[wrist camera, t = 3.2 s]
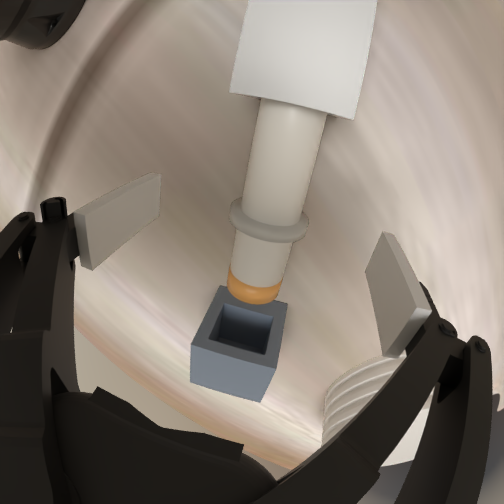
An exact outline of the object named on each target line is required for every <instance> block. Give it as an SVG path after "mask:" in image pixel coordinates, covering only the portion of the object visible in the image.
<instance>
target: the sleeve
mask: <svg viewBox="0 0 504 504" xmlns="http://www.w3.org/2000/svg"><path fill="white" fill-rule="evenodd" d="M376 5H377V0H249V2H248V6H247V10H246V14H245V18H244V23H243V27H242V31H241V36H240V40H239V45H238V49H237V54H236V59H235V64H234V69H233V74H232V79H231V84H230V89H229V92H230V93H235V94H240V95H244V96H249V97H253V98H257V99H261V98H267V99H272V100H277V101H282V102H286V103H291V104H295V105H300V106H304V107H308V108H312V109H316V110H320V111H323V112H327V114H328V115H331V116H335V117H338V118H344V119H350V120H354V116H355V112H356V108H357V104H358V99H359V95H360V91H361V86H362V82H363V77H364V72H365V68H366V63H367V58H368V53H369V47H370V42H371V36H372V31H373V25H374V18H375V12H376Z"/></svg>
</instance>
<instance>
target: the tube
mask: <svg viewBox="0 0 504 504" xmlns="http://www.w3.org/2000/svg"><path fill="white" fill-rule="evenodd" d="M326 117H327V112H323V111H320V110H316V109H312V108H308V107H304V106H300V105H295V104H291V103H286V102H282V101H277V100H272V99H267V98H261V102H260V107H259V112H258V117H257V122H256V127H255V132H254V137H253V142H252V148H251V153H250V158H249V163H248V169H247V174H246V179H245V185H244V190H243V196H242V198H239V199H236V200H235V201H233V202H232V204H231V208H230V214H229V220H230V222H231V224H232V225H233V226H234V227H235V228H236V229H237V230H236V235H235V241H234V247H233V253H232V259H231V263H230V267H229V274H228V280H227V288H228V290H229V292H230V293H231V294H232V295H233V296H234V297H235V298H237V299H239V300H240V301H243V302H245V303H249V304H256V305H260V304H266V303H269V302H271V301H273V300H274V299H275V298H276V297H277V295H278V292H279V289H280V286H281V282H282V279H283V274H284V271H285V268H286V264H287V261H288V258H289V254H290V251H291V248H292V244H293V242H296V241H298V240H301V239H302V238H303V237H304V236H305V234H306V230H307V227H308V224H309V220H308V218H307V216H306V215H305V214H304V213H303V212H302V209H303V206H304V202H305V198H306V195H307V191H308V187H309V184H310V180H311V176H312V172H313V169H314V165H315V161H316V157H317V153H318V149H319V145H320V141H321V137H322V133H323V129H324V125H325V121H326Z"/></svg>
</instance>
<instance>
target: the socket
mask: <svg viewBox="0 0 504 504" xmlns="http://www.w3.org/2000/svg"><path fill="white" fill-rule="evenodd" d="M286 310H287V304H286V303H282V302H279V301H275V300H273V301H271V302H269V303H266V304H260V305H256V304H249V303H245V302H243V301H240V300H239V299H237V298H235V297H234V296H233V295H232V294H231V293H230V292H229V290H228V288H227V287H224V286H221V285H220V287H219V289H218V291H217V293H216V295H215V297H214V299H213V301H212V303H211V305H210V307H209V309H208V311H207V313H206V315H205V317H204V319H203V321H202V323H201V325H200V327H199V329H198V331H197V333H196V335H195V337H194V339H193V341H192V343H191V358H190V382H191V383H194V384H197V385H200V386H203V387H206V388H209V389H213V390H216V391H219V392H222V393H226V394H229V395H233V396H236V397H240V398H244V399H248V400H252V401H256V402H261V400H262V398H263V396H264V394H265V392H266V390H267V388H268V386H269V384H270V381H271V379H272V377H273V375H274V373H275V371H276V368H277V363H278V357H279V352H280V346H281V340H282V335H283V329H284V323H285V317H286Z"/></svg>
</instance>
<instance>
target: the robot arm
mask: <svg viewBox="0 0 504 504" xmlns="http://www.w3.org/2000/svg"><path fill="white" fill-rule="evenodd" d="M84 1H85V0H0V40H7V41H9V42H12V43H15V44H17V45H20V46H22V47H25V48H28V49H44V48H47V47H49V46H50V45H52V44H53V43H55V42H56V41H57V40H58V39H59V38H60V37H61V36H62V35H63V34H64V33H65V32H66V31H67V29H68V28H69V27H70V25H71V24H72V23H73V21H74V20H75V18H76V16H77V15H78V13H79V11H80V9H81V7H82V5H83V3H84ZM160 189H161V174H158V173H152V172H150V173H148V174H146V175H144V176H142V177H140V178H137V179H135V180H133V181H131V182H129V183H127V184H125V185H123V186H121V187H119V188H117V189H115V190H113V191H111V192H109V193H107V194H105V195H103V196H101V197H100V198H98V199H96V200H94V201H92V202H90V203H89V204H87V205H85V206H83V207H81V208H80V209H78V210H76V211H74V212H73V213H72V214H70V215H68V216H67V207H66V199H65V198H63V197H53V198H49V199H47V200H45V201H43V202H42V203H41V204H40V207H41V214H42V220H43V221H42V222H36V221H35V215H34V213H32V212H23V213H20V214H19V215H17V216H16V217H14V218H13V219H12V220H11V221H10V222H9V224H8V225H7V226H6V227H5V228H4V229H3V230H2V231H1V232H0V504H357V503H358V501H359V500H360V499H361V498H362V497H363V496H364V495H365V494H366V493H367V492H368V491H369V490H370V488H371V487H372V486H373V485H374V484H375V482H376V481H377V480H378V478H379V476H380V473H379V472H378V470H379V468H380V467H381V465H382V464H383V463H384V462H385V461H386V459H387V458H388V457H389V455H390V454H391V453H392V452H393V450H394V449H395V448H396V446H397V445H398V443H399V442H400V441H401V439H402V438H403V437H404V435H405V434H406V432H407V431H408V429H409V428H410V426H411V425H412V423H413V422H414V420H415V419H416V417H417V415H418V414H419V412H420V411H421V409H422V407H423V406H424V404H425V402H426V401H427V399H428V397H429V395H430V394H431V392H432V390H433V388H434V392H433V396H432V401H431V405H430V409H429V413H428V416H427V420H426V423H425V427H424V430H423V433H422V437H421V440H420V443H419V446H418V449H417V451H416V454H415V457H414V460H413V462H412V465H411V467H410V470H409V472H408V475H407V477H406V479H405V482H404V484H403V486H402V489H401V491H400V493H399V495H398V497H397V499H396V501H395V503H394V504H477V501H478V497H479V494H480V489H481V486H482V482H483V477H484V472H485V467H486V461H487V456H488V449H489V440H490V431H491V419H492V363H491V352H490V348H489V346H488V344H487V342H485V340H484V339H482V338H480V337H478V336H472V337H471V338H470V339H469V341H468V342H467V343H466V342H464V341H462V340H460V339H458V338H457V335H458V334H457V331H456V329H455V328H454V326H453V325H452V324H451V323H450V322H448V321H447V320H445V319H443V318H440V316H439V314H438V311H437V309H436V307H435V305H434V303H433V300H432V298H430V297H431V296H430V294H429V292H428V290H427V289H426V287H425V286H424V285H423V284H422V283H421V282H419V281H418V279H417V277H416V275H415V273H414V271H413V269H412V267H411V265H410V263H409V261H408V259H407V258H406V256H405V254H404V252H403V250H402V248H401V246H400V245H399V243H398V241H397V239H396V237H395V236H394V235H393V234H390V233H387V232H384V231H382V233H381V236H380V238H379V241H378V243H377V245H376V248H375V250H374V252H373V255H372V257H371V259H370V262H369V264H368V266H367V268H366V270H365V273H366V277H367V281H368V285H369V289H370V294H371V298H372V302H373V307H374V312H375V316H376V321H377V327H378V332H379V337H380V343H381V349H382V355H383V357H389V358H395V359H398V358H399V356H400V355H401V354H402V353H403V351H404V350H405V351H406V356H407V357H406V358H405V359H404V361H403V362H402V363H401V364H400V365H399V367H398V368H397V369H396V370H395V371H394V372H393V374H392V375H391V377H390V378H389V379H388V380H387V381H386V383H385V384H384V385H383V386H382V387H381V388H380V390H379V391H378V392H377V393H376V394H375V395H374V396H373V397H372V399H371V400H370V401H369V402H368V403H367V404H366V405H365V406H364V407H363V408H362V409H361V410H360V411H359V412H358V413H357V414H356V415H355V416H354V417H353V418H352V419H351V420H350V421H349V422H348V423H347V424H346V425H345V426H344V427H343V428H342V429H341V430H340V431H339V432H338V433H337V434H335V435H334V436H333V437H332V438H331V439H330V440H329V441H328V442H327V443H325V444H324V445H323V446H322V447H321V448H320V449H318V450H317V451H316V452H315V453H314V454H312V455H311V456H310V457H309V458H307V459H306V460H305V461H304V462H302V463H301V464H300V465H298V466H297V467H296V468H294V469H293V470H291V471H290V472H289V473H287V474H286V475H284V476H283V477H281V478H280V479H279V480H277V481H276V480H275V479H274V477H273V476H272V475H271V473H269V472H268V470H267V469H266V468H265V467H263V466H262V465H261V464H260V463H258V462H257V461H256V460H254V459H253V458H251V457H249V456H248V455H246V454H244V453H242V450H243V446H244V444H240V443H236V442H232V441H229V440H225V439H222V438H218V437H215V436H212V435H208V434H205V433H198V432H188V431H181V430H174V429H168V428H163V427H160V426H158V425H157V424H155V423H154V422H153V421H151V420H150V419H149V418H147V417H146V416H145V415H143V414H142V413H141V412H139V411H138V410H137V409H136V408H135V407H133V406H132V405H131V404H130V403H128V402H126V401H124V400H122V399H120V398H118V397H117V396H115V395H112V394H111V393H109V392H107V391H105V390H103V389H101V388H100V387H97V388H96V390H95V391H94V392H93V394H92V393H86V392H80V390H79V386H78V382H77V374H76V364H75V349H74V281H75V261H74V259H75V258H76V257H77V256H80V262H81V266H83V267H85V268H87V269H90V270H92V271H93V270H94V269H95V268H96V267H97V266H98V265H100V264H101V263H102V262H103V261H104V260H105V259H107V258H108V257H109V256H110V255H111V254H112V253H114V252H115V251H116V250H117V249H118V248H120V247H121V246H122V245H123V244H124V243H126V242H127V241H128V240H129V239H130V238H132V237H133V236H134V235H135V234H137V233H138V232H139V231H140V230H142V229H143V228H144V227H146V226H147V225H148V224H149V223H151V222H152V221H153V220H155V219H156V218H157V217H158V216H159V210H160ZM18 252H19V253H20V257H21V258H20V259H19V254H18ZM12 327H13V328H12ZM11 329H12V333H10V331H11ZM434 386H435V387H434Z"/></svg>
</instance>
